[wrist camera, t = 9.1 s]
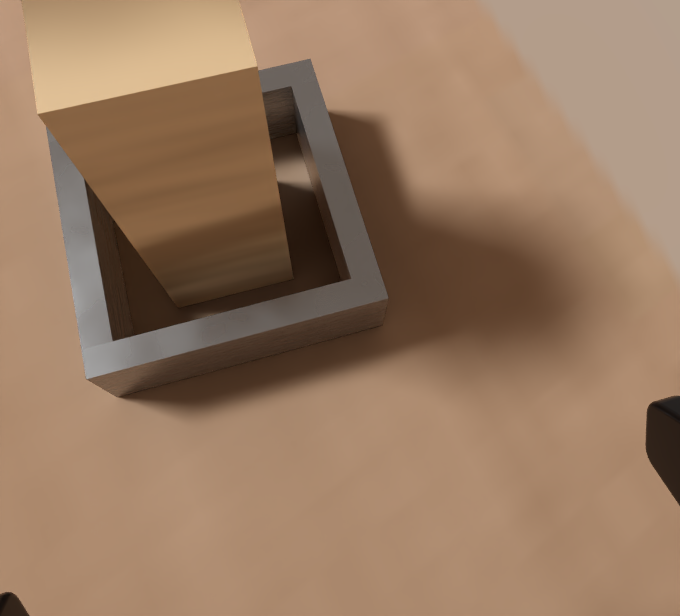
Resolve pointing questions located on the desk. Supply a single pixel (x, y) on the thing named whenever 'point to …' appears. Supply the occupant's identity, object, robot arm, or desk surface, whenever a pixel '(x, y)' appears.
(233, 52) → the rectangular block
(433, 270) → the desk surface
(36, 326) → the desk surface
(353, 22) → the desk surface
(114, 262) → the grey square tray
